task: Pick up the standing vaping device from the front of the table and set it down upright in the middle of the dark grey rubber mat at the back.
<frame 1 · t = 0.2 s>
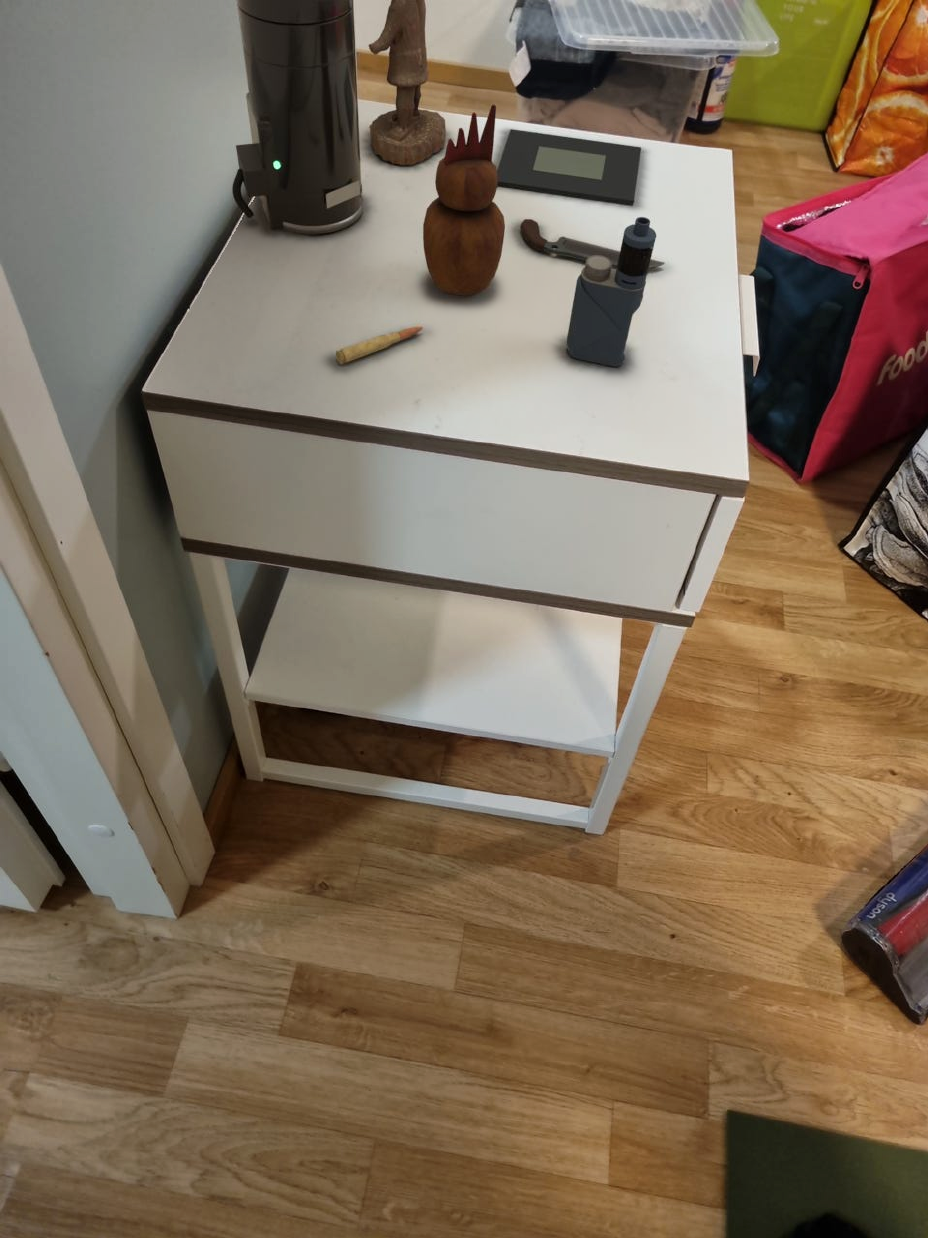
knife: (588, 253, 84), on the nightstand
wooden figurine: (461, 286, 80), on the nightstand
figurine: (407, 146, 95), on the nightstand
vaping device: (595, 356, 75), on the nightstand
bullet: (376, 336, 74), point 1 cm above the nightstand
mat: (569, 167, 93), on the nightstand
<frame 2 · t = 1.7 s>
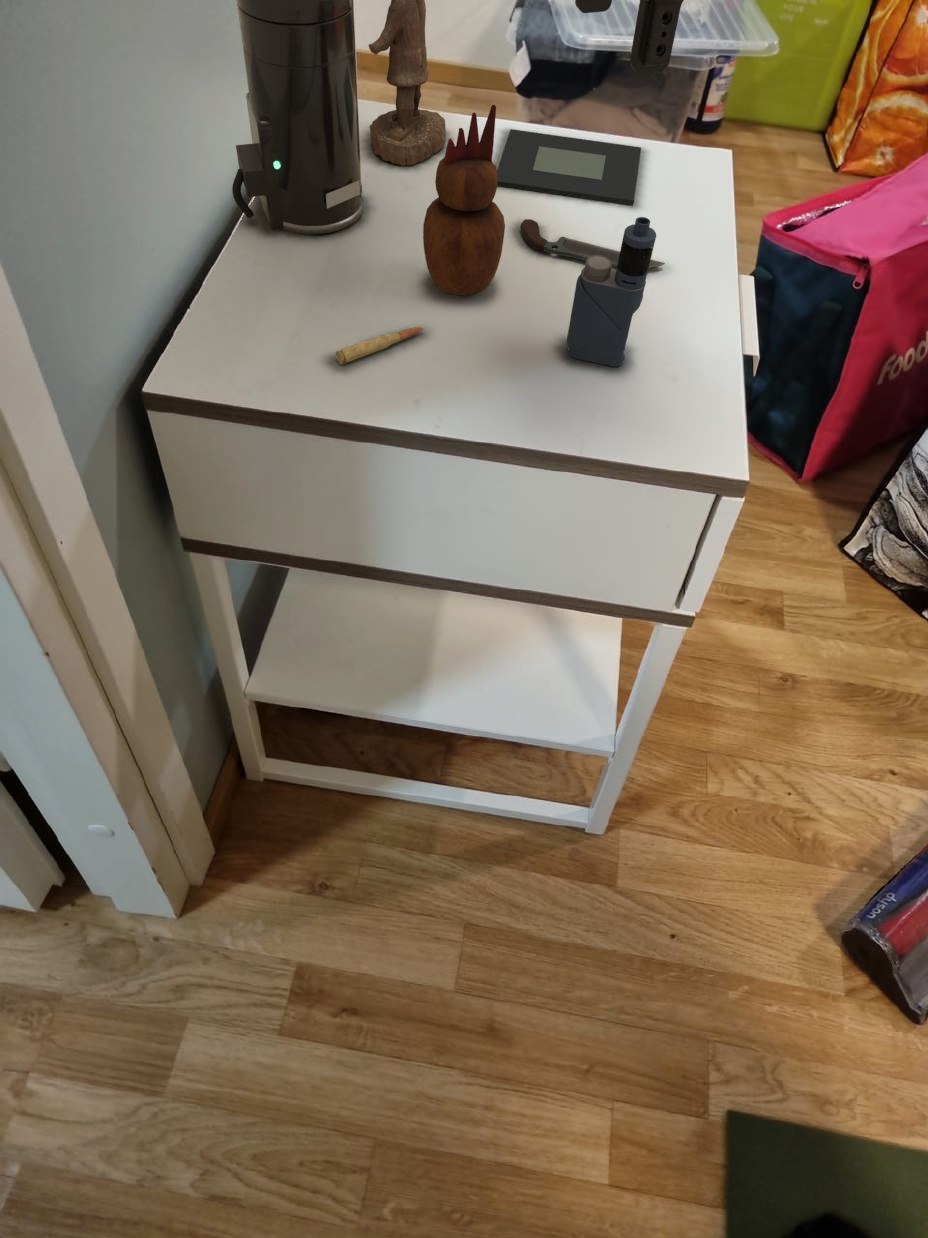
hand: (619, 38, 55), 24 cm above the nightstand, tool pointing down, fingers open, 8 cm apart
nothing on the nightstand moved.
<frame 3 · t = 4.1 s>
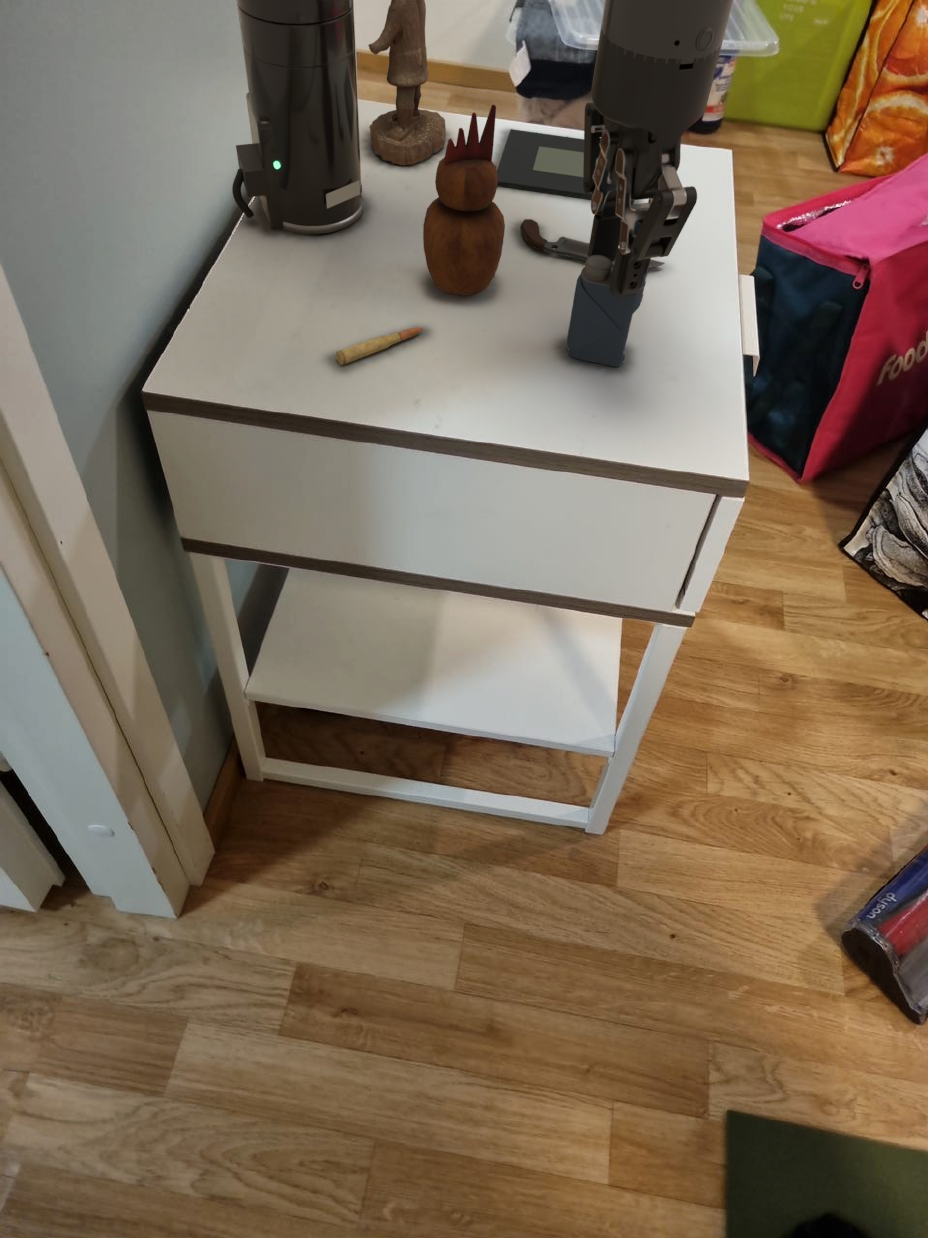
hand: (612, 276, 69), 7 cm above the nightstand, tool pointing down, fingers closed on vaping device, 4 cm apart
vaping device: (595, 356, 75), on the nightstand, touching gripper
everything else where it was.
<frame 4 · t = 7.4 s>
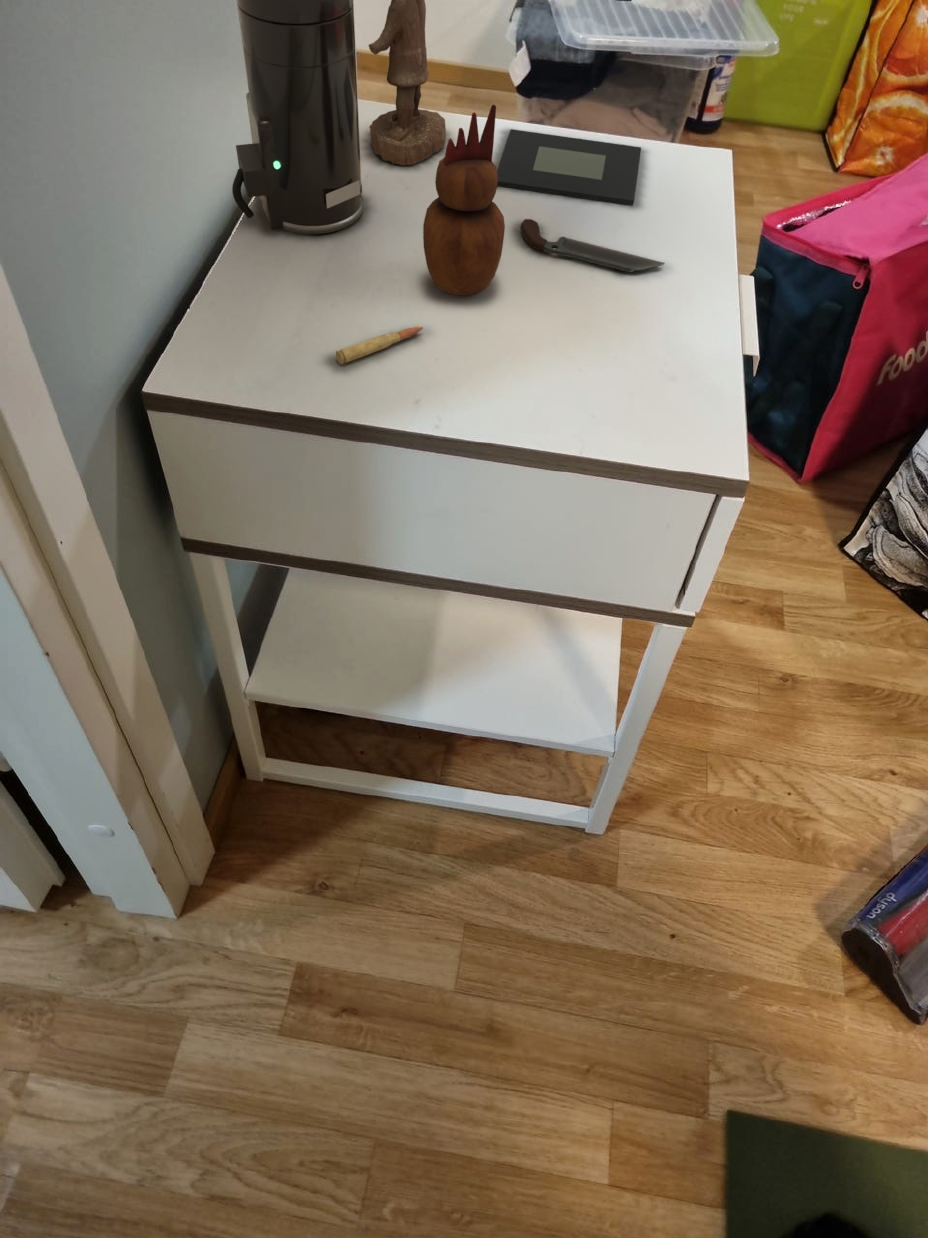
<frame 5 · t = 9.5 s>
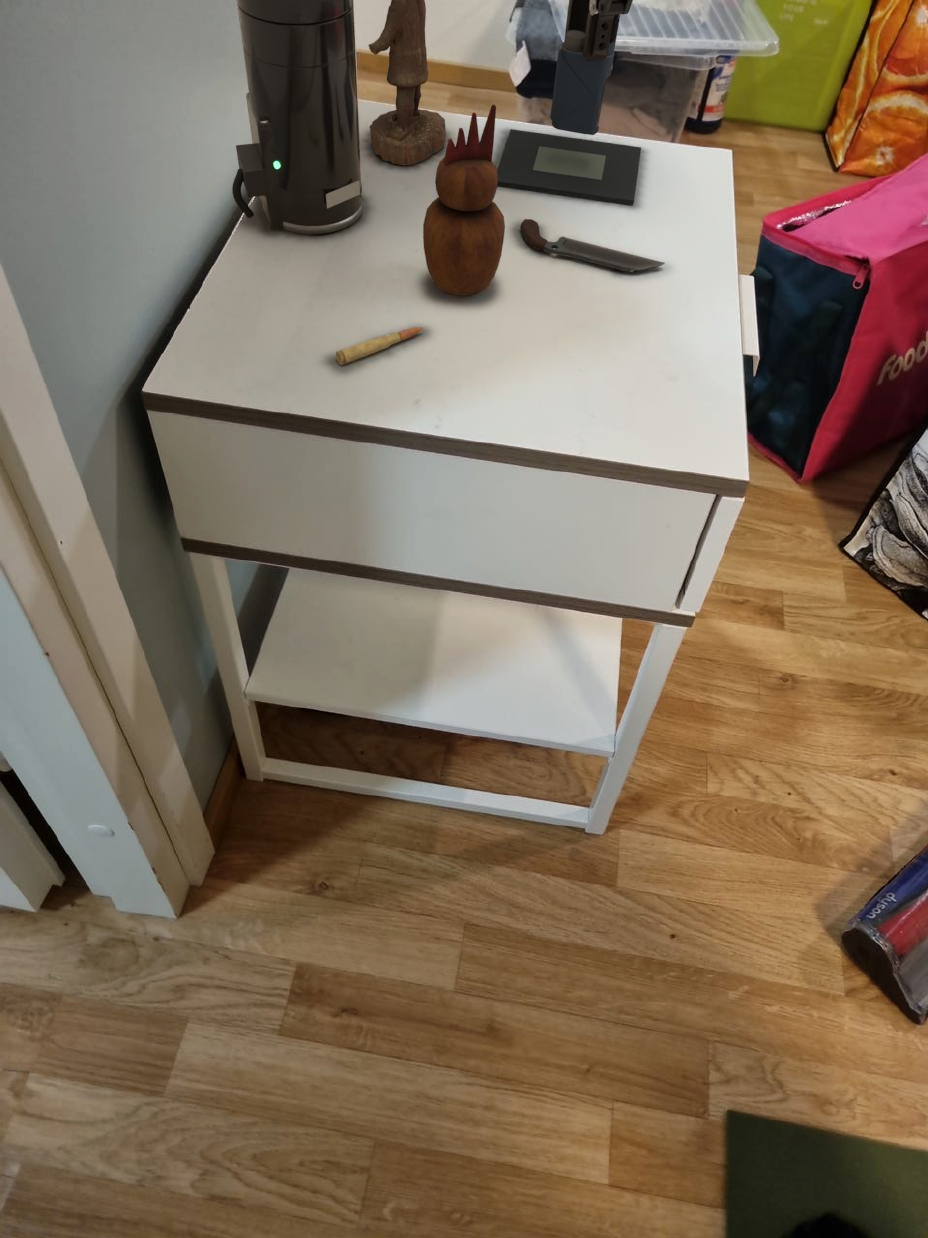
hand: (585, 47, 84), 11 cm above the nightstand, tool pointing down, fingers closed on vaping device, 3 cm apart
vaping device: (575, 129, 90), point 4 cm above the nightstand, touching gripper
everything else where it was.
when the fingers open (8 cm above the nightstand, at t = 10.9 s): vaping device stays where it is, resting on mat.
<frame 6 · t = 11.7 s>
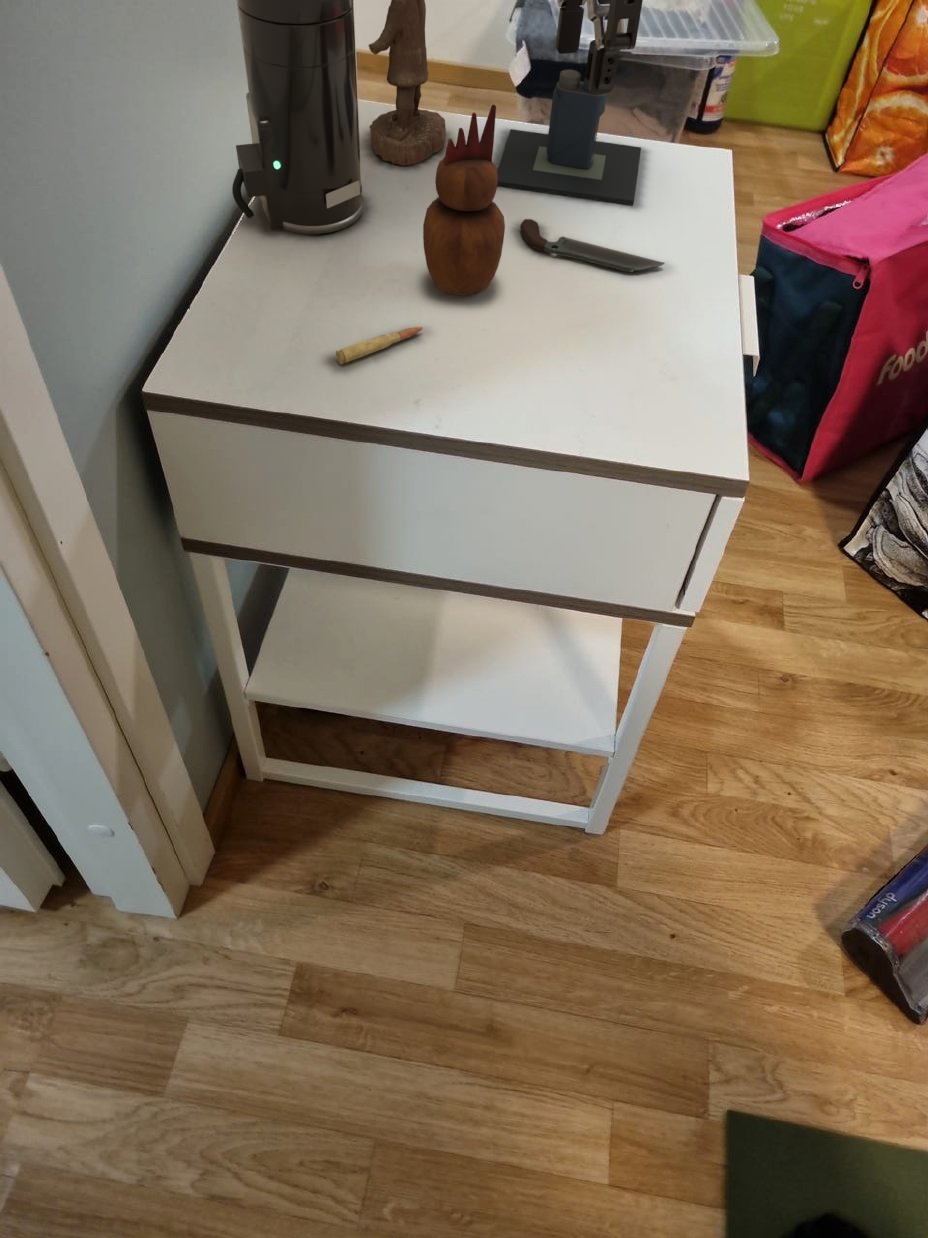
hand: (582, 71, 86), 9 cm above the nightstand, tool pointing down, fingers open, 8 cm apart
vaping device: (570, 163, 93), resting on mat
everything else where it was.
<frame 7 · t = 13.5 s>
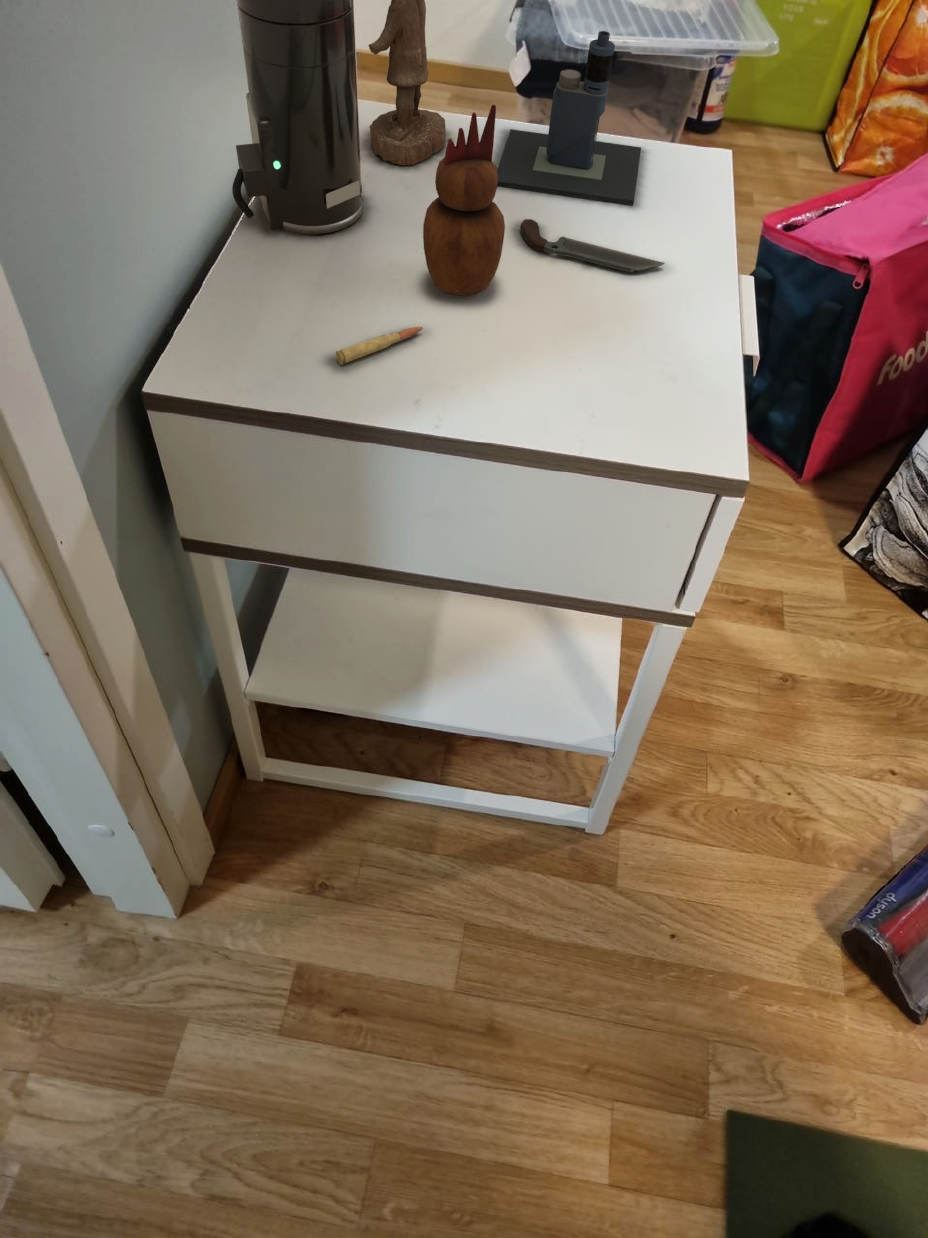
nothing on the nightstand moved.
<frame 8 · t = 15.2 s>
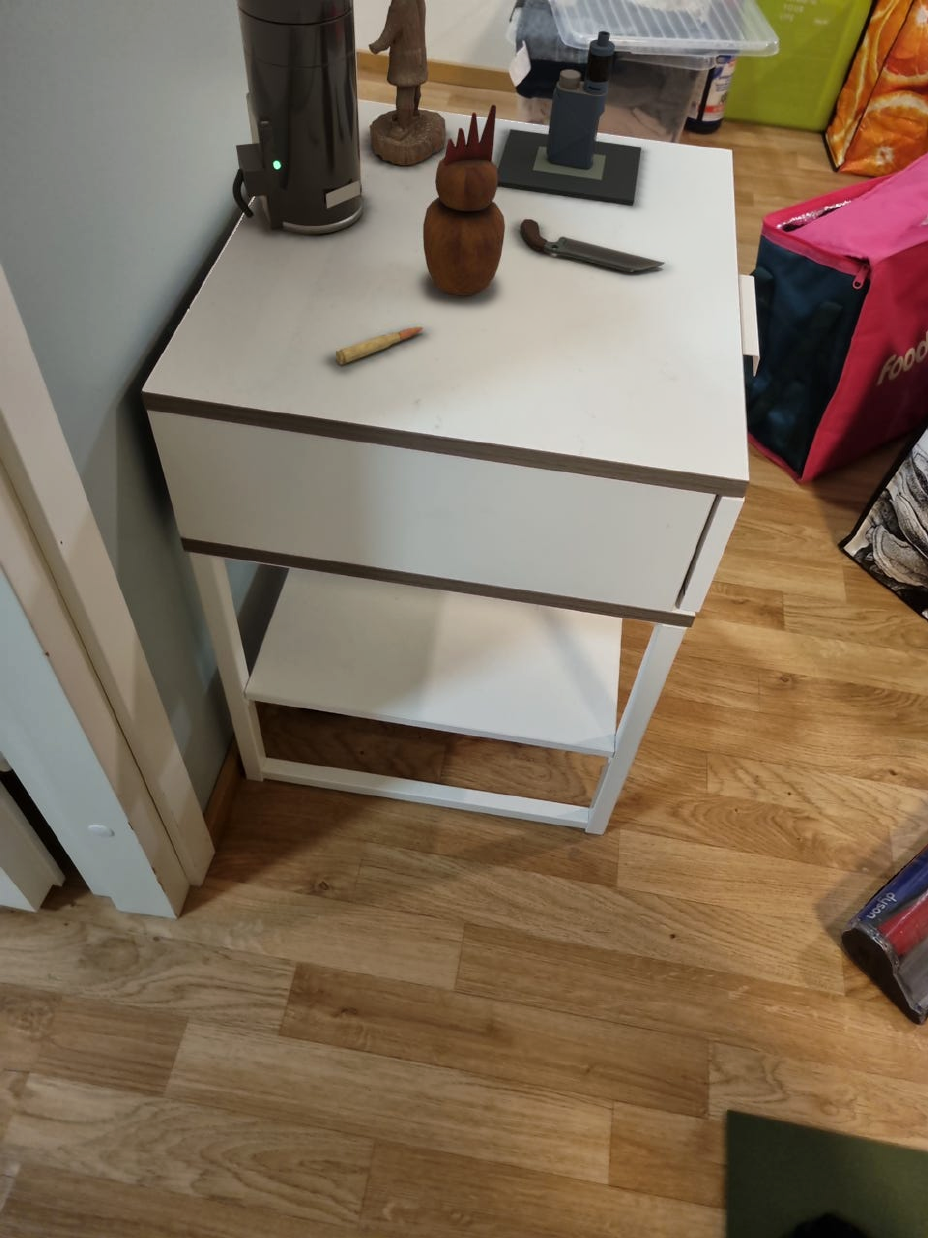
nothing on the nightstand moved.
at the end: vaping device inside the target area on the mat (0.3 cm from its centre), point 0.4 cm above the mat's base; vaping device tilted 0°; the gripper is holding nothing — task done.
